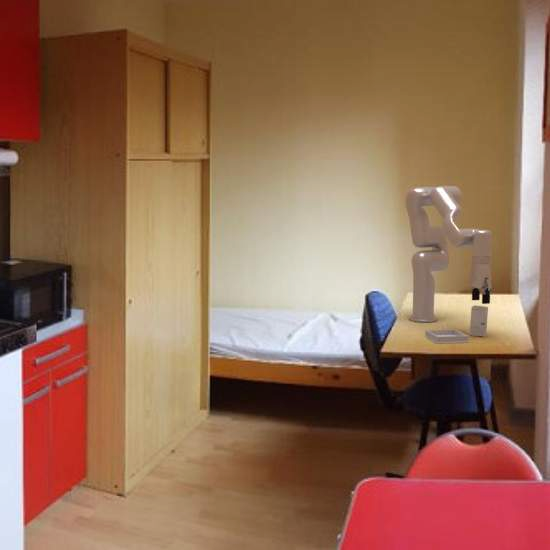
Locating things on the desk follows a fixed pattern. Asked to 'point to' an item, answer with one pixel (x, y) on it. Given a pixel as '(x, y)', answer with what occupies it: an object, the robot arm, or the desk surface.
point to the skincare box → (478, 321)
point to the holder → (446, 336)
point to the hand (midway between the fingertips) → (480, 301)
